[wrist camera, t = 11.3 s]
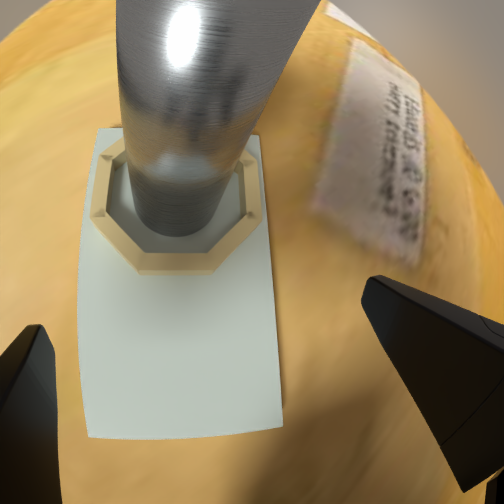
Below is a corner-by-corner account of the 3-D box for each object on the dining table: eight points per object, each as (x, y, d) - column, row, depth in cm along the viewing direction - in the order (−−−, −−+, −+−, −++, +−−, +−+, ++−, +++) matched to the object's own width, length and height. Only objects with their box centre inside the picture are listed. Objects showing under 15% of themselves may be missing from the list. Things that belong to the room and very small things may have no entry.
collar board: (275, 421, 15) (292, 432, 13) (93, 430, 12) (83, 444, 10) (253, 145, 20) (264, 124, 17) (101, 139, 17) (95, 116, 14)
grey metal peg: (202, 250, 15) (309, 37, 4) (119, 219, 15) (71, -15, 3) (228, 176, 17) (329, -24, 5) (154, 149, 16) (178, -67, 5)
